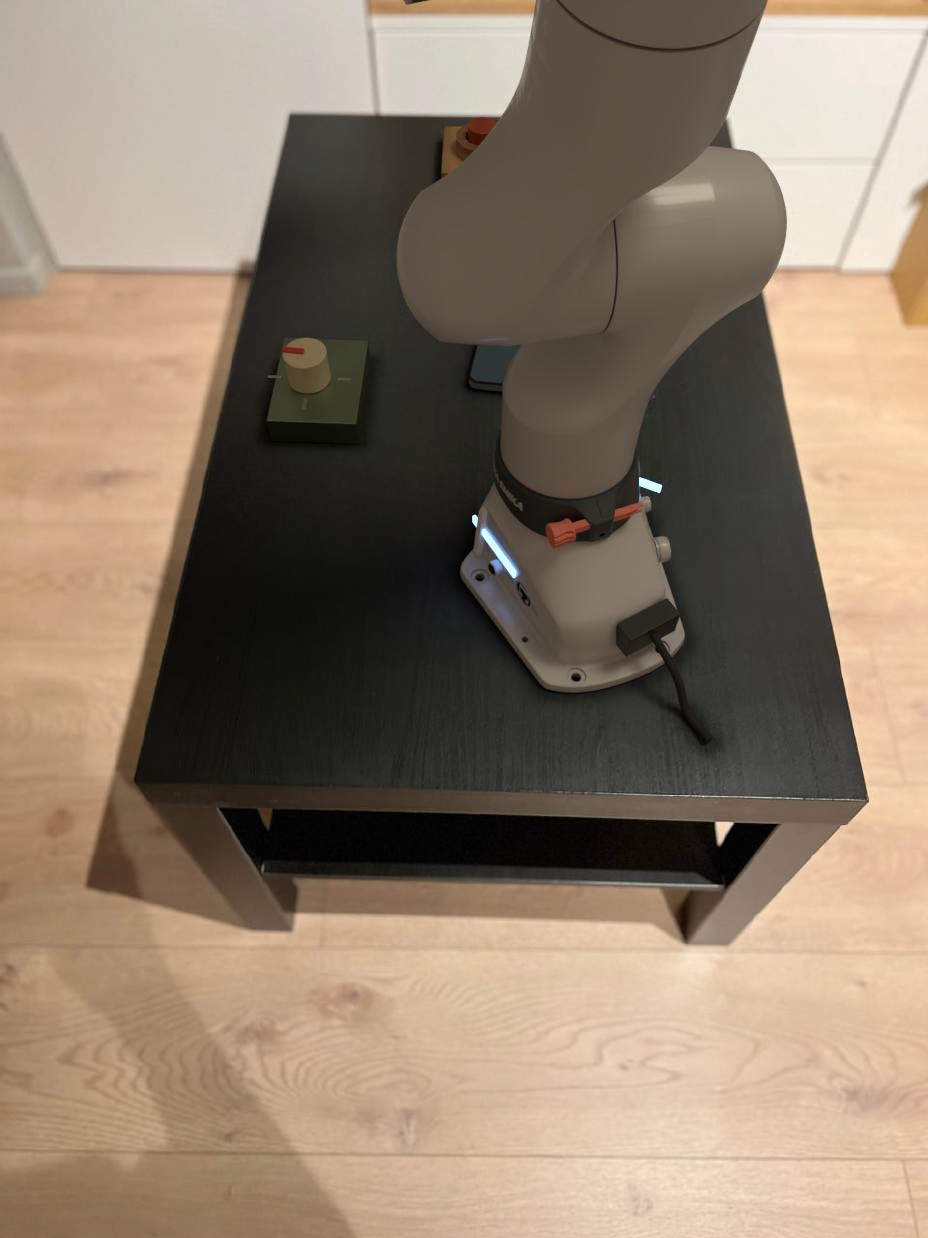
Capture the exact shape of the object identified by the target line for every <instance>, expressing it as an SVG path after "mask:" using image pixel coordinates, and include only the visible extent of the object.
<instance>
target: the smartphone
mask: <svg viewBox="0 0 928 1238" xmlns="http://www.w3.org/2000/svg"><path fill="white" fill-rule="evenodd" d="M521 345H522V344H520V345H513V346H490V345H475V349H474V354H473V357H472V362H471V365H470V369H469V372H468V386H470V388H472V389H475V390H484V391H492V392H493V391H494V392H501V393H502V391H503V380H504V376H505V373H506V370H507V368H508V366H509V364H510V362H511V360H512V358H513V356H514V355H515V353H516V352H517V350H518V349H519V348H520V346H521Z"/></svg>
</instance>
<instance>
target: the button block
mask: <svg viewBox="0 0 928 1238" xmlns="http://www.w3.org/2000/svg"><path fill="white" fill-rule="evenodd" d="M468 124H469V122H468V123H466V124H463V125H462V126H455V125H454V126H452V125H451V126H449V125H448V126H447V125H445V126H443V138H442V152H441V153H442V154H441V170H440V177H441V178H440V179H442V178H443V177H445V176H446V175H447V174H449V173H450V172H451V171H453V170H454V169H455V168H456V167H458V166H459V165H460V164H461V163H462V162H463V161H464V160H465V159H466V158H468V157H469V156H470V155H471V154H472V152H473V151H474V150H475V149H476V148H477V147H478V146H477V145H474V144H471V143H470V142H469V141H468Z"/></svg>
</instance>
